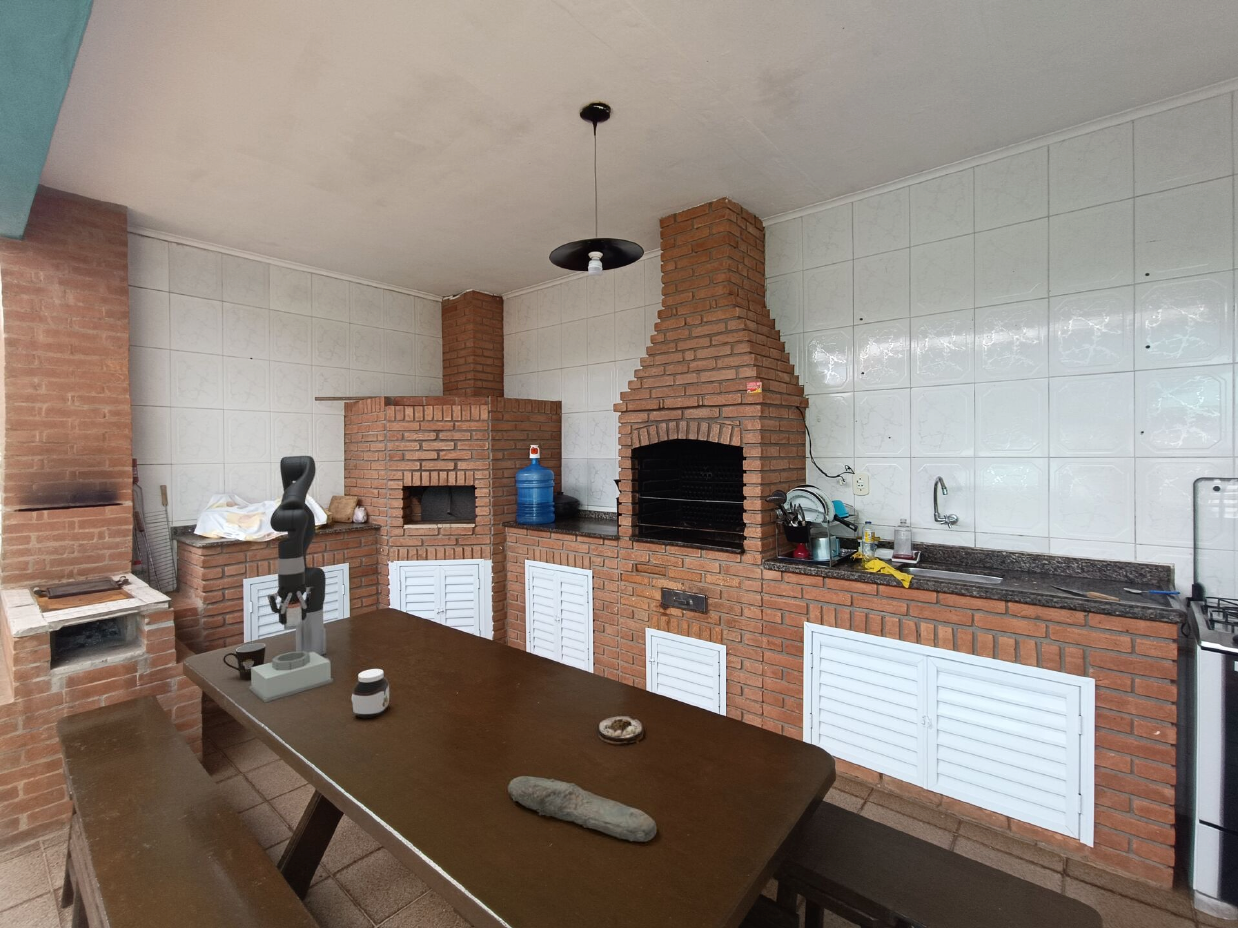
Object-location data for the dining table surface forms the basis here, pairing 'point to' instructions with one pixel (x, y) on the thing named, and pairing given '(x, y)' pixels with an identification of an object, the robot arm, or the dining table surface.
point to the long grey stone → (582, 808)
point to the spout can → (293, 615)
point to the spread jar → (370, 694)
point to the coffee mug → (248, 659)
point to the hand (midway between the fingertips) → (292, 621)
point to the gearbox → (290, 675)
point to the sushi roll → (620, 730)
